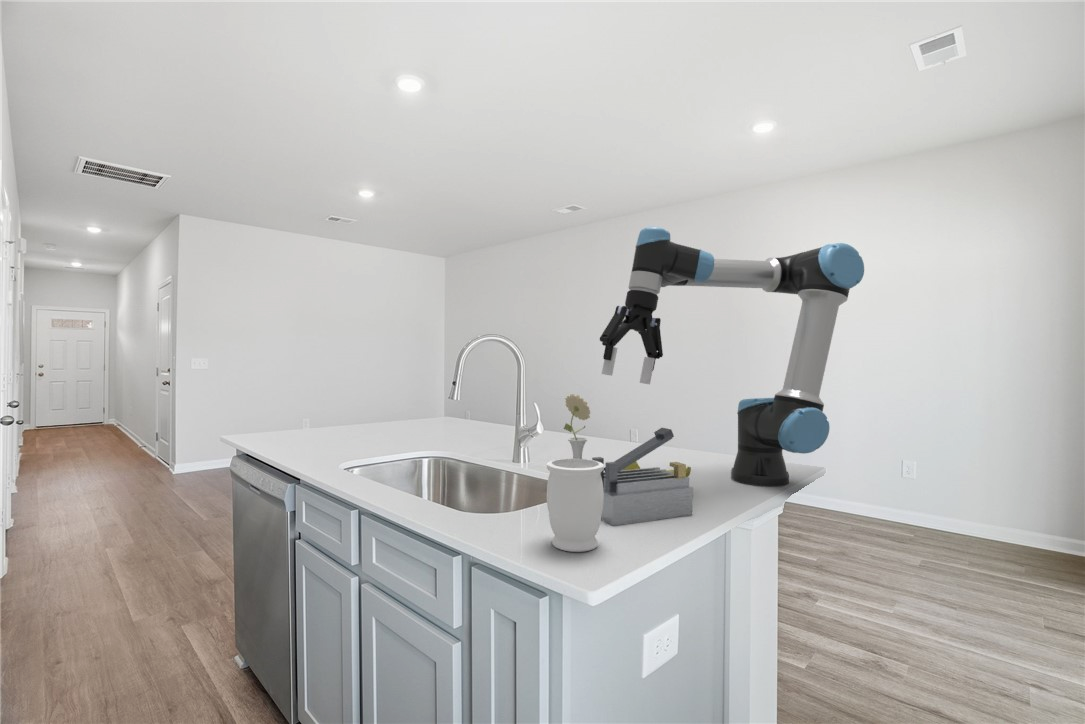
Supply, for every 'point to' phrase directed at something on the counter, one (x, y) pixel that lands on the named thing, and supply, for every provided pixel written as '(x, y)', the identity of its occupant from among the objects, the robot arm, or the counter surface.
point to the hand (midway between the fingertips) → (626, 379)
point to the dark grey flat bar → (644, 448)
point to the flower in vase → (582, 412)
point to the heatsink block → (644, 493)
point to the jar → (575, 503)
